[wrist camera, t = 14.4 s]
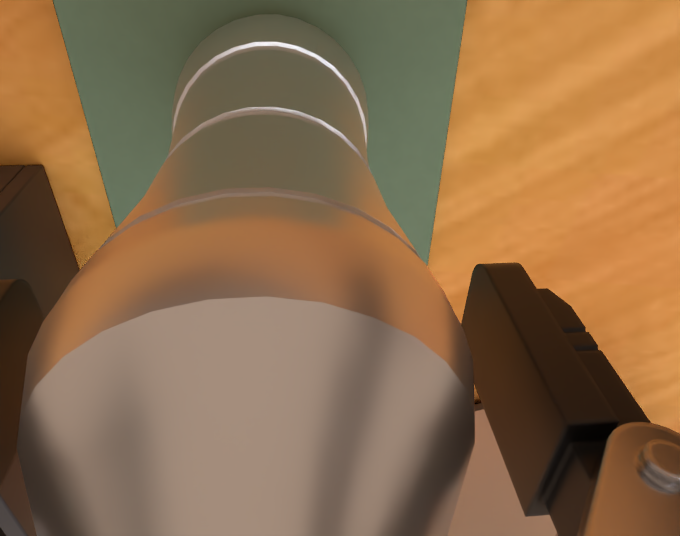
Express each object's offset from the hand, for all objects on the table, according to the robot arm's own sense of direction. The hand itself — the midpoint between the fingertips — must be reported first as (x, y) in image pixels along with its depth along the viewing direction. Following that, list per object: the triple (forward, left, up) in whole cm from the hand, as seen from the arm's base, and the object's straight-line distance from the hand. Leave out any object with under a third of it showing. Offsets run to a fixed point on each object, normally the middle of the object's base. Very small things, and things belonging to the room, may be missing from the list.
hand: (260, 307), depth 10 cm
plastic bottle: (0, 0, -12) cm, 12 cm away
